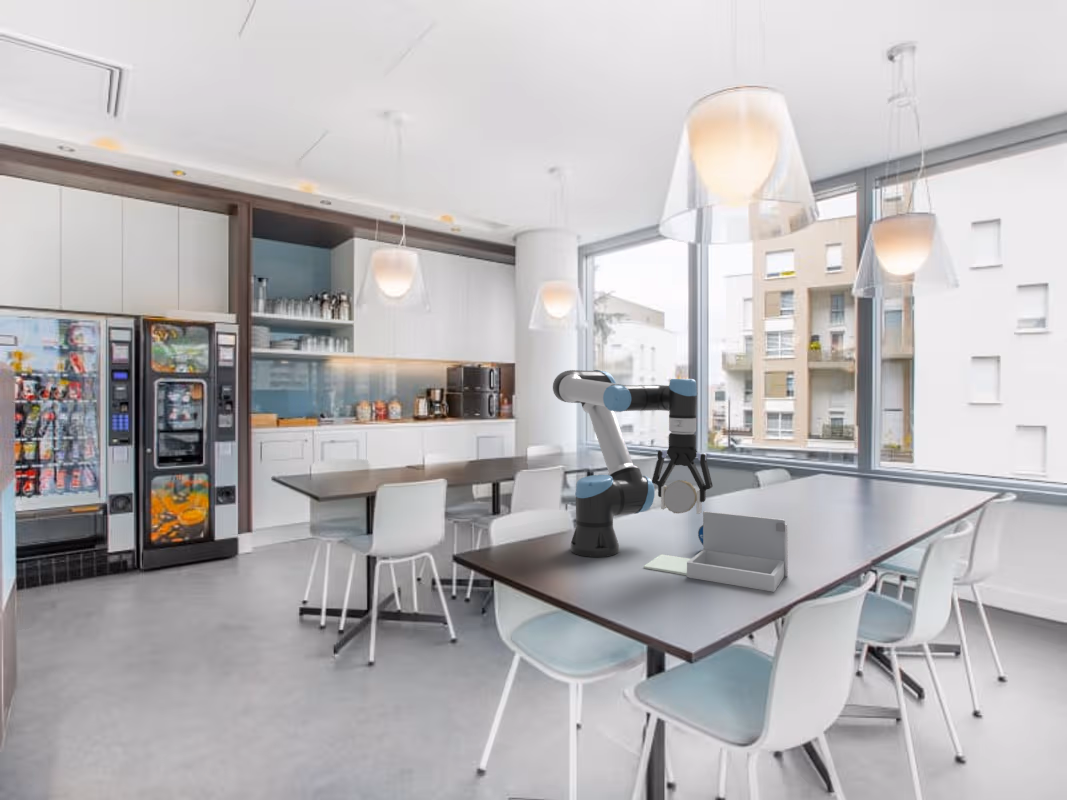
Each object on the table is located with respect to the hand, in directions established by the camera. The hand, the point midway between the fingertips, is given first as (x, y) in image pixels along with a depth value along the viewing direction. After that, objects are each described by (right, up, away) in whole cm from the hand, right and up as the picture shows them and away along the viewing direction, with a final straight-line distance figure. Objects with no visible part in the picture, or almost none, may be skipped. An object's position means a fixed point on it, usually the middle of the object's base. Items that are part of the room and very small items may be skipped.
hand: (681, 510), depth 163 cm
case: (+12, -16, -9) cm, 22 cm away
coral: (0, 0, 0) cm, 0 cm away
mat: (-1, -16, +1) cm, 16 cm away
